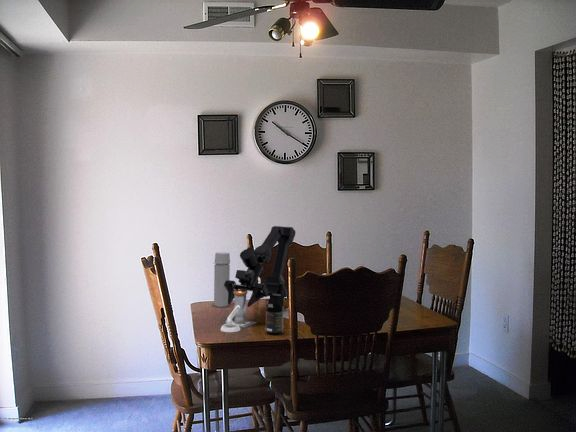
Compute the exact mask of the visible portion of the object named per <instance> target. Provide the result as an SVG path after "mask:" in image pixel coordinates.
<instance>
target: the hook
mask: <svg viewBox="0 0 576 432" xmlns="http://www.w3.org/2000/svg"><path fill="white" fill-rule="evenodd" d="M239 309H240V306H239V305H237V306H236V307H235V309H234V308H233V310H232V311H231V312H230V314H229V315H228V316H227V318H226V320H225V323H227V324H225V325H223V324H222V326H221V327H220V331H221V332H223V333H235V332H236V333H237V332H239V331H241V328H240V327H239V325H237V324H233V321H232V320H233V319H234V316H235V314H236V313H237V312H238V310H239Z"/></svg>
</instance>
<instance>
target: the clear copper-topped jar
mask: <svg viewBox="0 0 576 432" xmlns="http://www.w3.org/2000/svg"><path fill="white" fill-rule="evenodd" d="M233 294H234V299H233V305H234V306H233V310H234V309H235V307H236V306H237V305H239V306H240V309H239V310H238V312H237V313H236V314H235V316H234V317H233V320H234V323H235V324H245V323H246V321H247V294H248V291H247V290H239V289H238V290H234V291H233Z"/></svg>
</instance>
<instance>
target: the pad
mask: <svg viewBox="0 0 576 432" xmlns="http://www.w3.org/2000/svg"><path fill="white" fill-rule="evenodd" d="M232 321H233V324H235V323H234V319H232ZM257 323H258V322H257V321H251V320H246V323H245V324H237V325H239V327H240V329H246V328H248V327H251V326H253V325H255V324H257ZM225 324H227V323H226V322H225V323H222V325H225Z"/></svg>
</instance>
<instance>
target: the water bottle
mask: <svg viewBox="0 0 576 432" xmlns="http://www.w3.org/2000/svg"><path fill="white" fill-rule="evenodd" d="M230 257H231V256H230V252H227V251H226V252H225V251H220V252H219V251H218V252H215V255H214V262H213V264H214V269H213V270H214V273H213V275H214V280H213V281H214V282H213V283H214V285H213V288H214V289H213V291H214V292H213V301H214V302H213V305H214V306H215V307H216V308H217V307H218V308H226V307H229V304H228V291H227V289H226V288H225V286H224V283H225V281H226V280H231V279H230V276H231V275H230V272H231V271H230V270H231V269H230V267H231V265H230V264H231V258H230Z"/></svg>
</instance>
